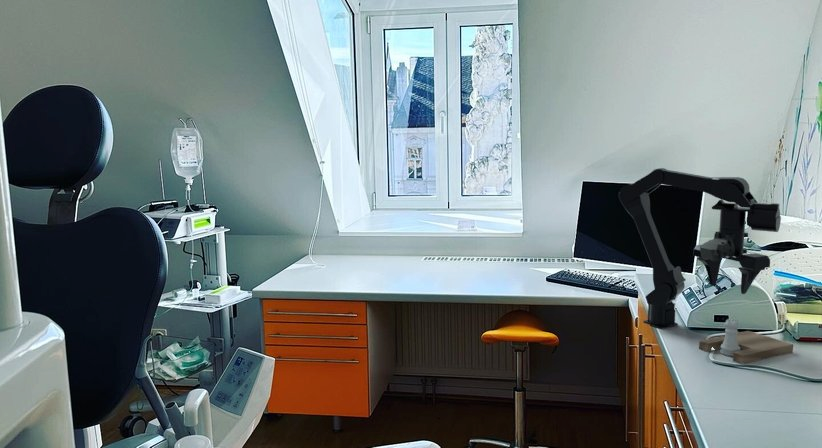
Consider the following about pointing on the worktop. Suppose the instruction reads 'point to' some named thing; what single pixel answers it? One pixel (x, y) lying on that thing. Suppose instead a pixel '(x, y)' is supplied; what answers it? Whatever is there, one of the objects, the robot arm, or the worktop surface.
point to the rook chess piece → (730, 338)
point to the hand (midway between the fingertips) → (727, 289)
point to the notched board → (750, 347)
